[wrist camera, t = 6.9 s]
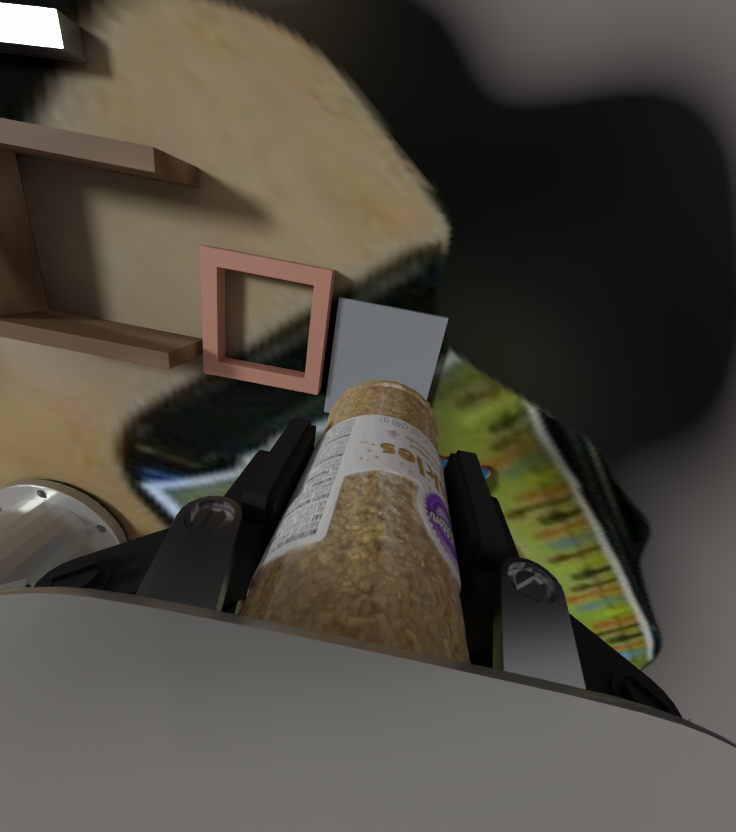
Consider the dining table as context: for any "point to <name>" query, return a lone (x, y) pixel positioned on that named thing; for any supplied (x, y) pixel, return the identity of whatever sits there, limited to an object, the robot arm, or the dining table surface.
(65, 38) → the crook tool
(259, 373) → the hole board
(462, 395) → the dining table surface
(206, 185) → the dining table surface
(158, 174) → the walnut stall
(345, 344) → the slate tile
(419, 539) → the sprinkles bottle
